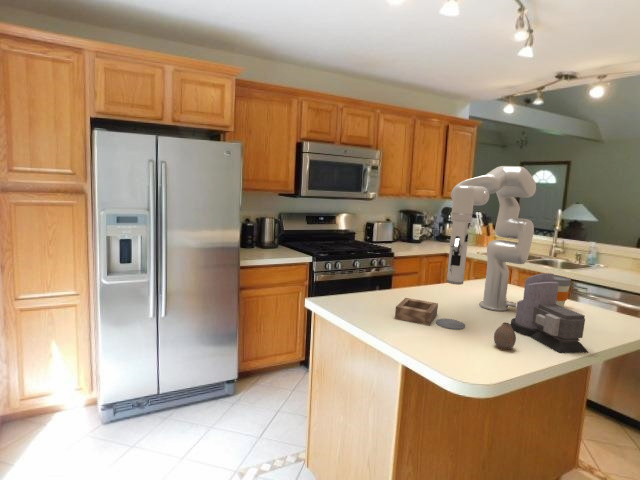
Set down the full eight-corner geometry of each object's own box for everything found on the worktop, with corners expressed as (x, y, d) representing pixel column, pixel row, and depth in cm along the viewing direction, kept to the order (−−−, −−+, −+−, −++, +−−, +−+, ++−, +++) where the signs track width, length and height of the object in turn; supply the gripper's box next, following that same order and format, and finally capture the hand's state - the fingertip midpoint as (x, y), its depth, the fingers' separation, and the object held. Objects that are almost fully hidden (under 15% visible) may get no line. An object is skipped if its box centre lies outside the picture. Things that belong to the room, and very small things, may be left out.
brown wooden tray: (436, 314, 176) (438, 303, 175) (429, 325, 161) (430, 313, 161) (404, 308, 182) (405, 297, 181) (394, 318, 167) (395, 306, 167)
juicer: (499, 323, 169) (506, 265, 166) (533, 322, 172) (541, 265, 169) (554, 353, 140) (564, 284, 137) (593, 352, 143) (604, 284, 140)
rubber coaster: (466, 323, 166) (466, 321, 166) (463, 331, 157) (463, 330, 156) (438, 318, 171) (438, 316, 171) (433, 325, 161) (433, 324, 161)
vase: (489, 343, 146) (492, 319, 145) (507, 344, 147) (510, 320, 145) (499, 351, 139) (502, 326, 138) (518, 352, 140) (521, 327, 138)
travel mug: (460, 281, 164) (465, 231, 162) (465, 285, 158) (470, 233, 155) (444, 280, 165) (449, 230, 162) (448, 284, 159) (453, 232, 156)
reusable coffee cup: (571, 309, 195) (576, 278, 193) (559, 313, 188) (564, 281, 186) (544, 302, 205) (548, 273, 203) (532, 306, 198) (536, 275, 196)
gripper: (454, 216, 167) (450, 259, 170) (447, 218, 152) (443, 266, 154) (474, 217, 164) (469, 262, 166) (469, 220, 148) (463, 269, 151)
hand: (456, 263), depth 160 cm, fingers closed on travel mug, 6 cm apart
